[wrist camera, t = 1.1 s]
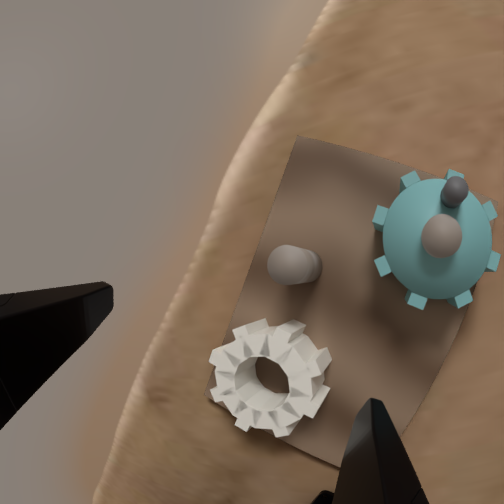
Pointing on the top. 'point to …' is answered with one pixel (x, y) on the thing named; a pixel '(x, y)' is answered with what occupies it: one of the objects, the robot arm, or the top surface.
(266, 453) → the top surface
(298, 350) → the off-white gear
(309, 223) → the gear board
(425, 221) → the teal gear
